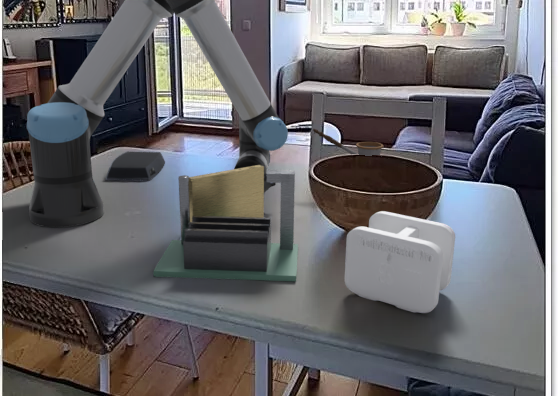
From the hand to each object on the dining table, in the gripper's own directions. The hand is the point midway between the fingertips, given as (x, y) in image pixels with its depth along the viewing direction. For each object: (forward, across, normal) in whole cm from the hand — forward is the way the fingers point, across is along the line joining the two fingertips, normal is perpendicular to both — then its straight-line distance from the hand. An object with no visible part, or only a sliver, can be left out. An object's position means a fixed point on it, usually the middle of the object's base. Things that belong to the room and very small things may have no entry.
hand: (239, 201), depth 119 cm
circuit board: (+15, 0, -6) cm, 16 cm away
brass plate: (+4, +2, -5) cm, 6 cm away
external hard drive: (-44, +33, -7) cm, 56 cm away
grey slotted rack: (+15, 0, -6) cm, 16 cm away
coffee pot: (-28, -24, -7) cm, 37 cm away
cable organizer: (+26, -28, -7) cm, 39 cm away
